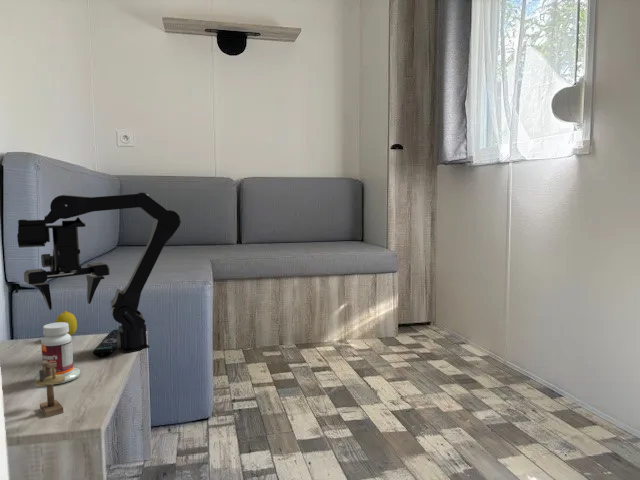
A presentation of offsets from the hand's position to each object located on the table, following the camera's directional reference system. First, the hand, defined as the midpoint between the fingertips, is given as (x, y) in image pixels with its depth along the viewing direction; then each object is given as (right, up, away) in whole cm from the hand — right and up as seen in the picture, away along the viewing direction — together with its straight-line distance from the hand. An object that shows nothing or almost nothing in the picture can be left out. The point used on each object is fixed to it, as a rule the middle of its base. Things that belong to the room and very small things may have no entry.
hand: (70, 306), depth 131 cm
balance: (+11, -17, -30) cm, 36 cm away
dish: (+4, -15, -14) cm, 20 cm away
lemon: (-9, -12, +16) cm, 22 cm away
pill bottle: (+4, -14, -14) cm, 20 cm away
